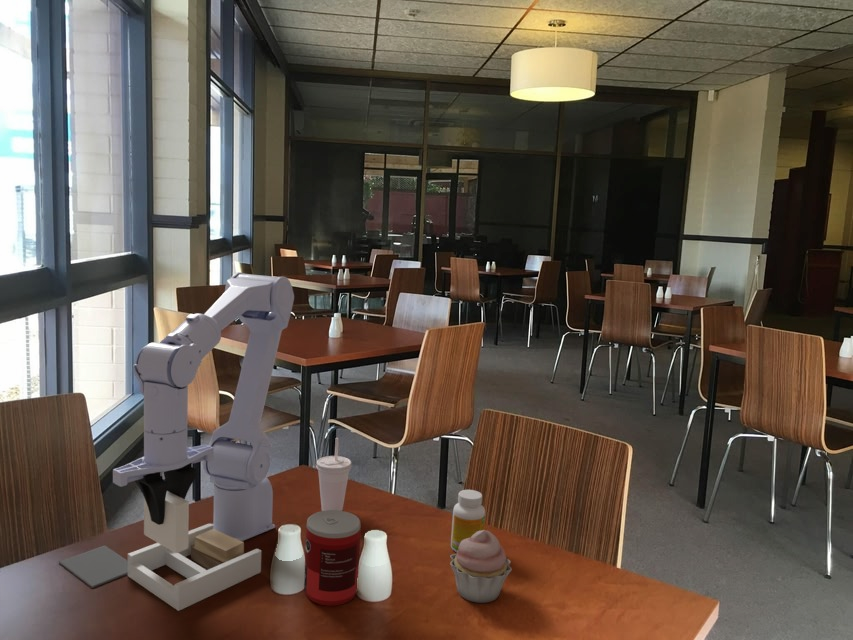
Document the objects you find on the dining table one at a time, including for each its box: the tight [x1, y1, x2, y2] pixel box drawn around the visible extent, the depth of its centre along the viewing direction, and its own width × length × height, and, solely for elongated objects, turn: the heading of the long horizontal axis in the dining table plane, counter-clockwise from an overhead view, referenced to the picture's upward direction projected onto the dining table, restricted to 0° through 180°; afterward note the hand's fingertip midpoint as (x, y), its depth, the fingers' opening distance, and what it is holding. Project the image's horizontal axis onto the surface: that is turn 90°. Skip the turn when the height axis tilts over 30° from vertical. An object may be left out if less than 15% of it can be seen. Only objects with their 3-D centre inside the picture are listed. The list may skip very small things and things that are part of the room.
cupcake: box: [449, 529, 513, 604], centre depth 101 cm, size 9×9×10 cm
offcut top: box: [195, 529, 245, 563], centre depth 105 cm, size 4×7×2 cm, turn 57°
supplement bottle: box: [450, 489, 486, 554], centre depth 114 cm, size 5×5×10 cm
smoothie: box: [315, 437, 352, 511], centre depth 125 cm, size 6×6×14 cm
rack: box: [127, 522, 262, 612], centre depth 102 cm, size 14×13×4 cm
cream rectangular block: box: [143, 491, 190, 553], centre depth 98 cm, size 2×8×7 cm, turn 53°
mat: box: [58, 545, 128, 589], centre depth 102 cm, size 7×10×1 cm
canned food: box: [303, 510, 362, 607], centre depth 99 cm, size 8×8×11 cm
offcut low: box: [190, 545, 224, 570], centre depth 105 cm, size 4×9×2 cm, turn 50°
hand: (165, 519), depth 98 cm, fingers closed on cream rectangular block, 2 cm apart
